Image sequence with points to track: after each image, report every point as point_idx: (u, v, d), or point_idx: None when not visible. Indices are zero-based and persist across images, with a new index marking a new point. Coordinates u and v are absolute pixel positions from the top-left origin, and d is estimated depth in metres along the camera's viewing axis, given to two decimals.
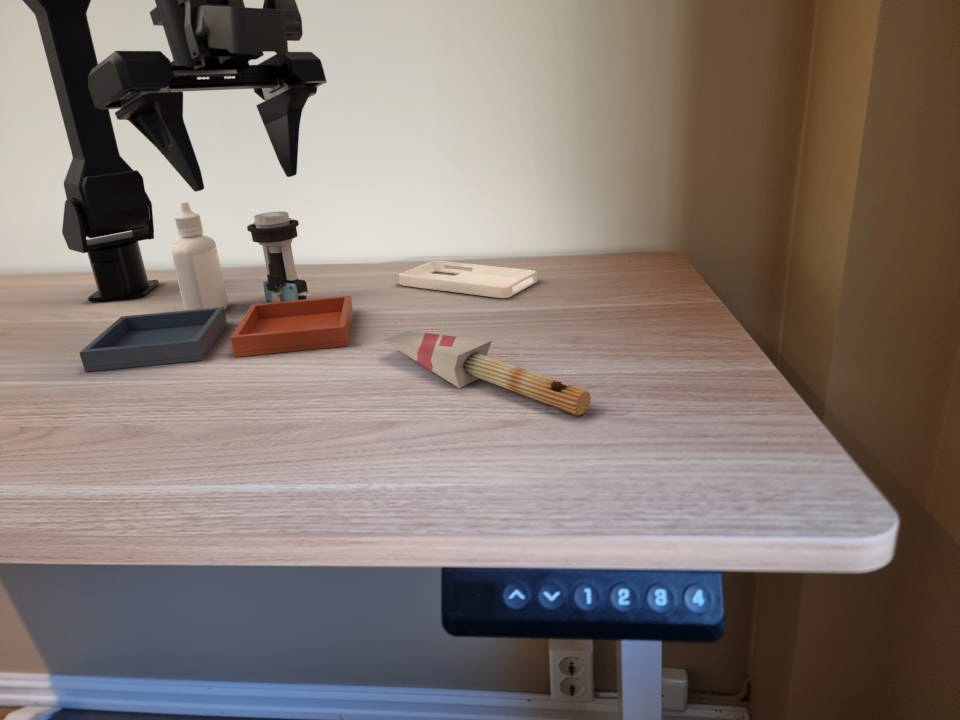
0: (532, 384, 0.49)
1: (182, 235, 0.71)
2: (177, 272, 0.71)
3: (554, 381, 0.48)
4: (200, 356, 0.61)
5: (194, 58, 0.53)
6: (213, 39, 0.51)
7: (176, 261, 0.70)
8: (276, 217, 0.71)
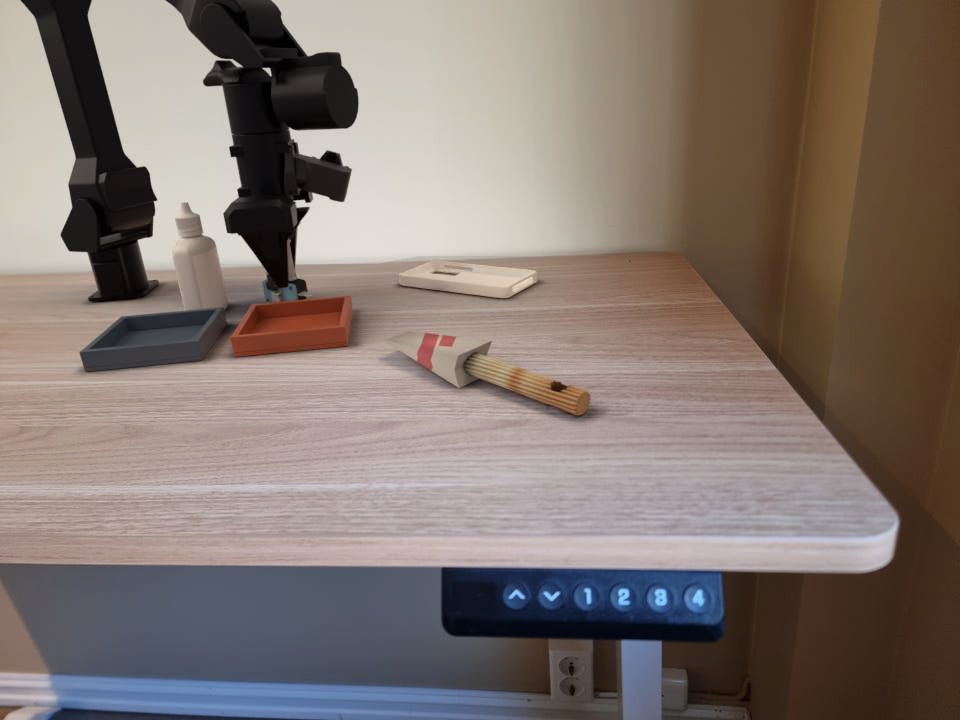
0: (532, 384, 0.49)
1: (182, 235, 0.71)
2: (177, 272, 0.71)
3: (554, 381, 0.48)
4: (200, 356, 0.61)
5: (289, 195, 0.69)
6: (313, 186, 0.69)
7: (176, 261, 0.70)
8: None
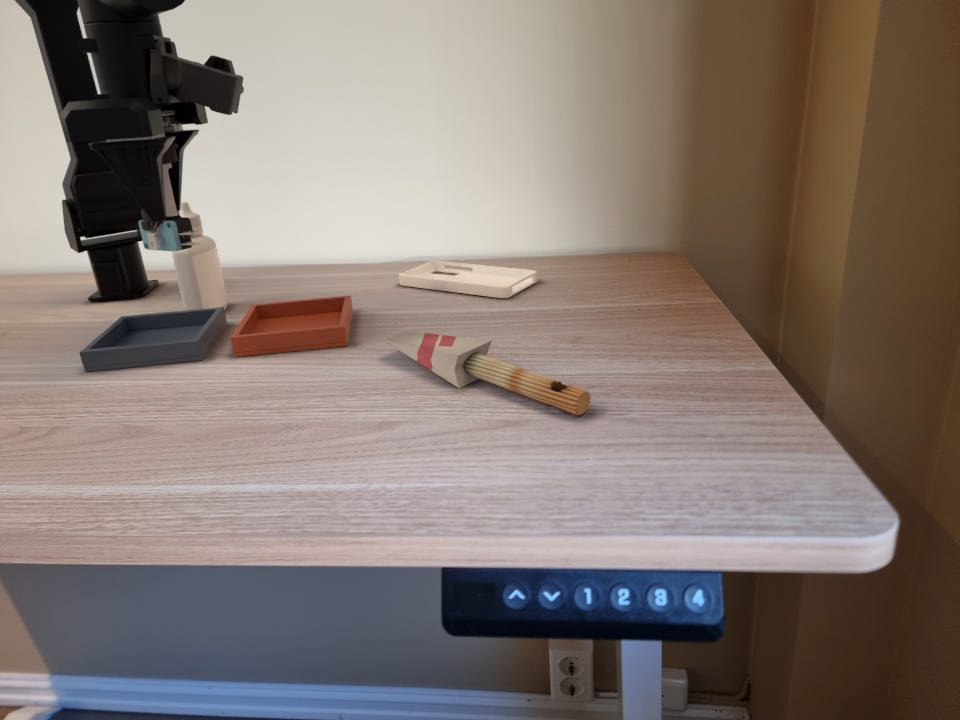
0: (532, 384, 0.49)
1: None
2: (177, 272, 0.71)
3: (554, 381, 0.48)
4: (200, 356, 0.61)
5: (157, 103, 0.56)
6: (189, 93, 0.56)
7: (176, 261, 0.70)
8: None
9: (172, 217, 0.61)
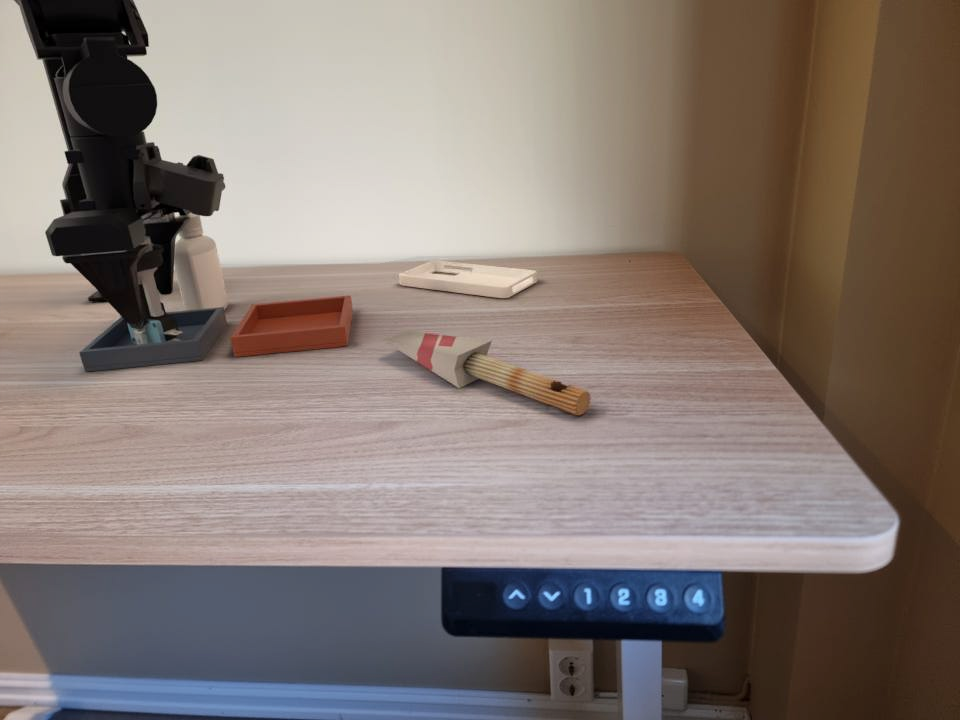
0: (532, 384, 0.49)
1: (182, 235, 0.71)
2: (177, 272, 0.71)
3: (554, 381, 0.48)
4: (200, 356, 0.61)
5: (140, 209, 0.58)
6: (170, 198, 0.59)
7: (176, 261, 0.70)
8: None
9: (158, 315, 0.64)
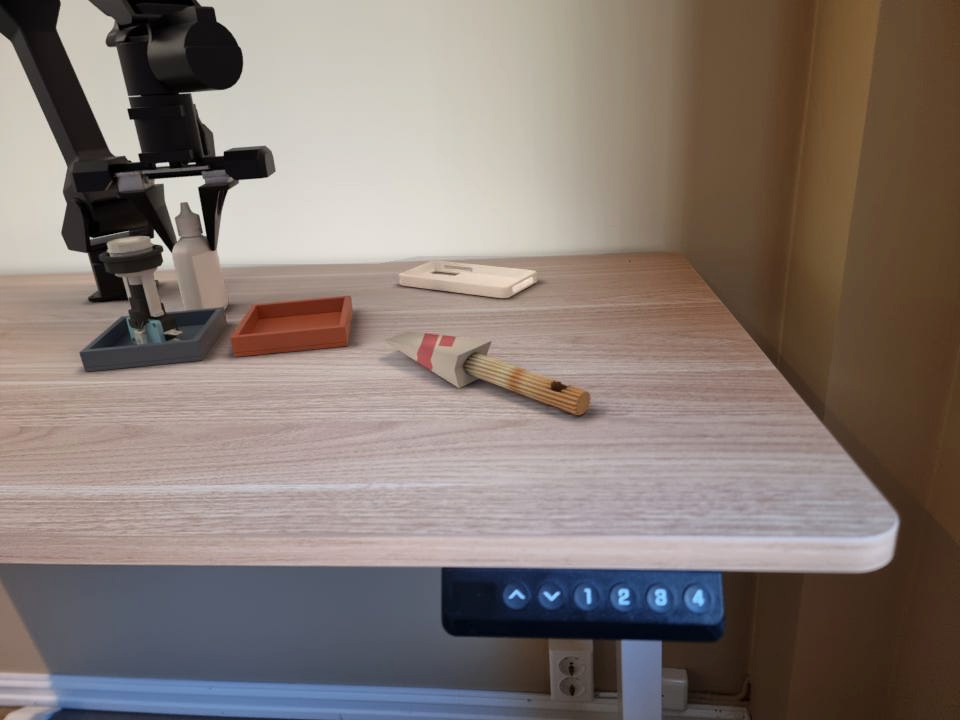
0: (532, 384, 0.49)
1: (182, 235, 0.71)
2: (177, 272, 0.71)
3: (554, 381, 0.48)
4: (200, 356, 0.61)
5: (208, 155, 0.71)
6: None
7: (176, 261, 0.70)
8: (131, 244, 0.60)
9: (158, 315, 0.64)
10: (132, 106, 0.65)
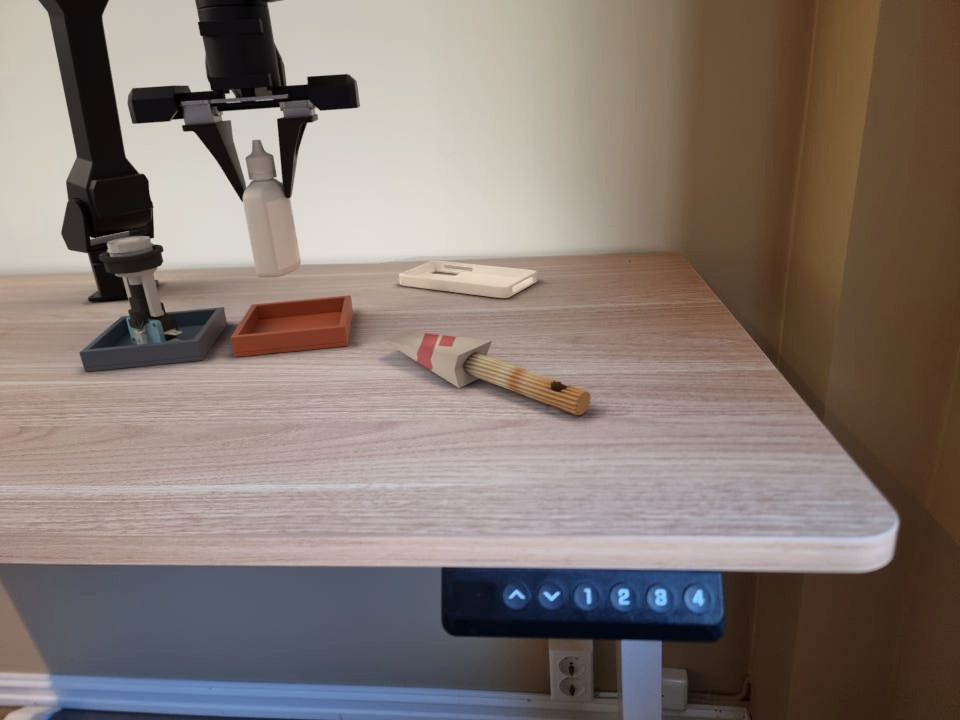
0: (532, 384, 0.49)
1: (254, 178, 0.61)
2: (248, 221, 0.61)
3: (554, 381, 0.48)
4: (200, 356, 0.61)
5: (284, 85, 0.61)
6: None
7: (248, 208, 0.60)
8: (131, 244, 0.60)
9: (158, 315, 0.64)
10: (202, 20, 0.55)
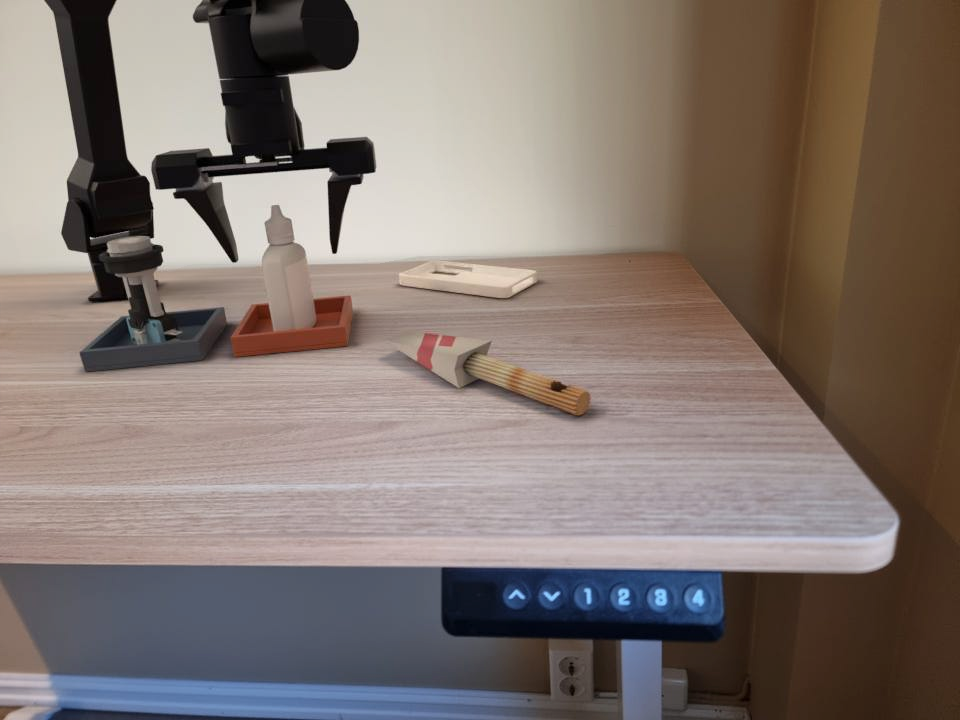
0: (532, 384, 0.49)
1: (273, 242, 0.62)
2: (267, 284, 0.62)
3: (554, 381, 0.48)
4: (200, 356, 0.61)
5: (303, 147, 0.63)
6: None
7: (267, 272, 0.62)
8: (131, 244, 0.60)
9: (158, 315, 0.64)
10: (225, 90, 0.57)
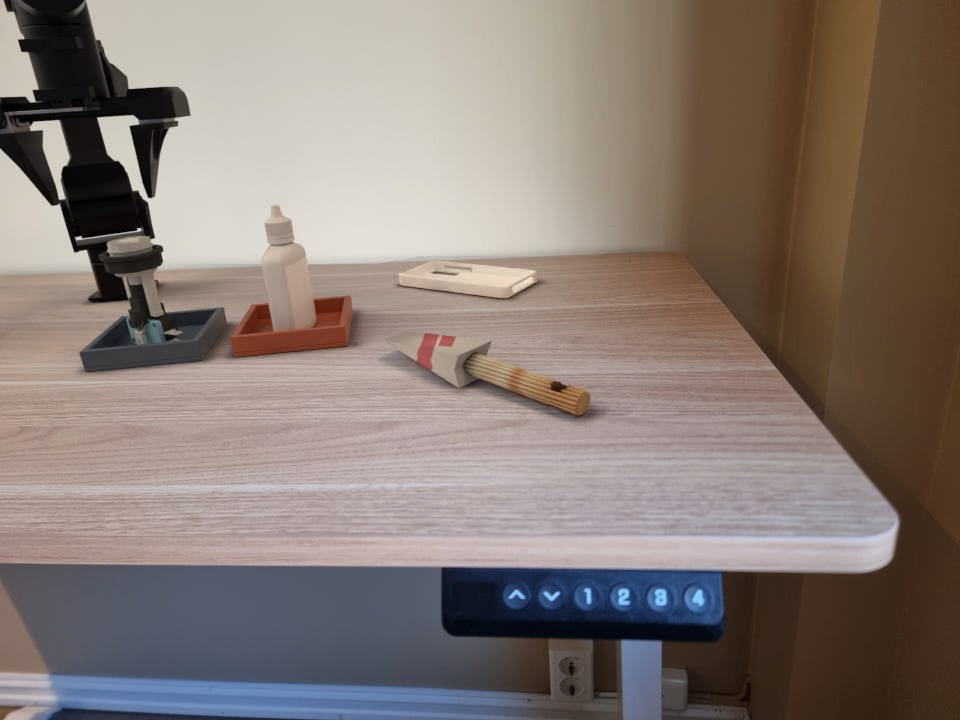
0: (532, 384, 0.49)
1: (272, 242, 0.62)
2: (267, 284, 0.62)
3: (554, 381, 0.48)
4: (200, 356, 0.61)
5: (117, 96, 0.66)
6: (119, 90, 0.68)
7: (266, 272, 0.62)
8: (131, 244, 0.60)
9: (158, 315, 0.64)
10: (25, 38, 0.60)
